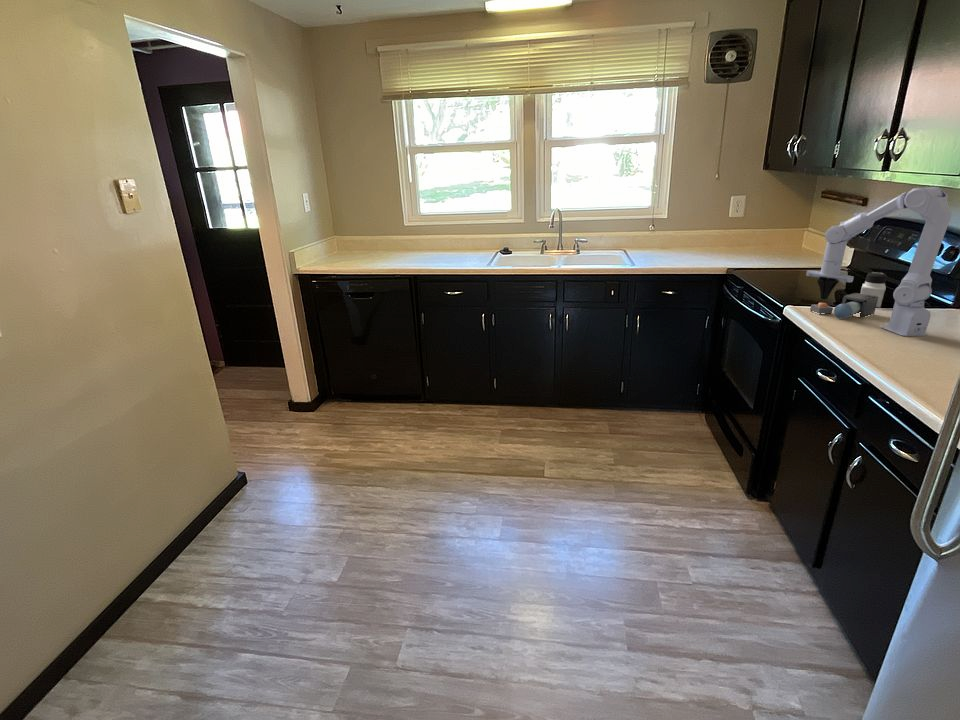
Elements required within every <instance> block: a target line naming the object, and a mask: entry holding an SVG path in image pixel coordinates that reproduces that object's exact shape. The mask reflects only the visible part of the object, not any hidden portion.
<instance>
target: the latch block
mask: <svg viewBox="0 0 960 720" xmlns="http://www.w3.org/2000/svg"><path fill="white" fill-rule="evenodd" d="M810 310H812V311H814V312H817V313H832V314H833V311H834V307H833V306H830V305H827V306H826V307H818V304H810ZM810 310H809V311H810ZM814 312H813V313H814Z"/></svg>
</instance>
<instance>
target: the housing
mask: <svg viewBox="0 0 960 720" xmlns="http://www.w3.org/2000/svg"><path fill="white" fill-rule="evenodd" d="M878 298H879V297H877V296H871V295H865V294H860V293H858V292H853V293H849V294H846V295H843V297H842V301H841V304H846V303H849V302H852V301H860V302H863V305H862V309H861V313H860V317H865V316H868V315H870V316H872V315H871V314H873V315H875V312H876V308H877V307H876V305H877V301H878ZM868 317H869V316H868ZM865 318H866V317H865Z"/></svg>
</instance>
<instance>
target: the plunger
mask: <svg viewBox="0 0 960 720" xmlns="http://www.w3.org/2000/svg"><path fill="white" fill-rule="evenodd" d="M826 306H828V303H826V302H818V307H826Z"/></svg>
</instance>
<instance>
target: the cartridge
mask: <svg viewBox="0 0 960 720" xmlns="http://www.w3.org/2000/svg"><path fill="white" fill-rule="evenodd" d="M862 305H863V302H860V301H852V302H849V303H846V304H842V303H840V304H837V305H836V306H835V307H834V308H833V313H834V315H835V317H837V318H838V319H847V318H849V317H851V316H850V315H853V314H856V313H859V312H861V309H862Z"/></svg>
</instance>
